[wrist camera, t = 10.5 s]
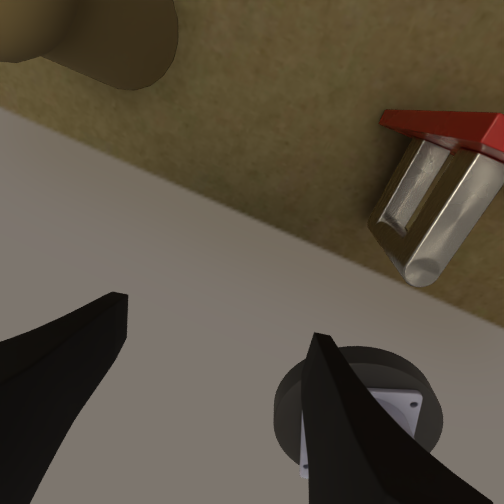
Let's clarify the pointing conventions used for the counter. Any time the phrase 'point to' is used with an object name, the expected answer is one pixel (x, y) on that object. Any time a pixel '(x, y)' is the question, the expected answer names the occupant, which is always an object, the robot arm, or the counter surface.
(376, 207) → the valve door
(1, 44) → the brown pawn figure
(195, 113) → the counter surface
